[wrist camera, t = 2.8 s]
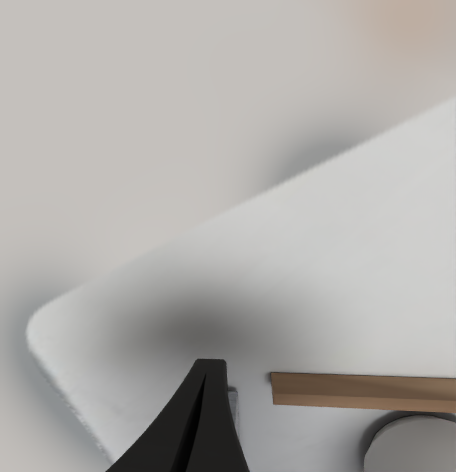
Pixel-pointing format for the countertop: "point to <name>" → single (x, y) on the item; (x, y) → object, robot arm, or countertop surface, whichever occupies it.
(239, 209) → the countertop surface
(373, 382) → the pair of wooden slats
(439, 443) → the can
